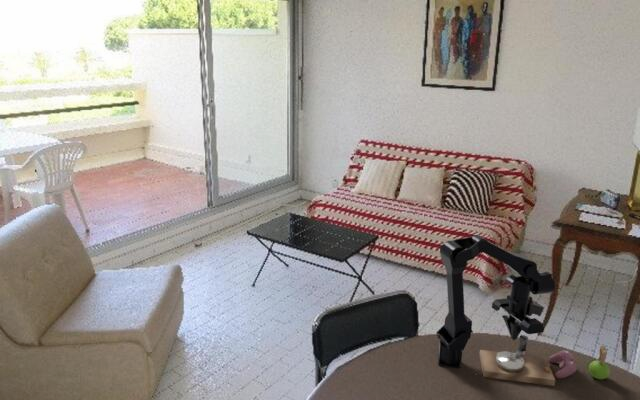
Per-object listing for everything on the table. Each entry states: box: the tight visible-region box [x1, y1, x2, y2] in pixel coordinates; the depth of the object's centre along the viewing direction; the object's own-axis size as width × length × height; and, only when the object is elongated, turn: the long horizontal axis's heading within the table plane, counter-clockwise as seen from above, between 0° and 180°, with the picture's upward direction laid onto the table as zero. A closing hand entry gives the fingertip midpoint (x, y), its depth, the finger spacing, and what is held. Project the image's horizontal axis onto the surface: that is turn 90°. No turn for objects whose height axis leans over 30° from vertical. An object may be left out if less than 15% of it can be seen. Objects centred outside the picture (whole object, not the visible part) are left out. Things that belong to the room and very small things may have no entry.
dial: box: [496, 334, 529, 372], centre depth 155 cm, size 13×8×6 cm, turn 134°
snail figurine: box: [588, 345, 611, 380], centre depth 150 cm, size 5×6×12 cm
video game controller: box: [548, 349, 578, 379], centre depth 155 cm, size 10×5×7 cm, turn 169°
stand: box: [478, 349, 556, 387], centre depth 155 cm, size 20×12×2 cm, turn 79°
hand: (513, 339), depth 163 cm, fingers closed
